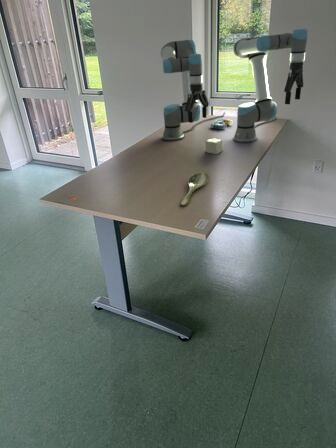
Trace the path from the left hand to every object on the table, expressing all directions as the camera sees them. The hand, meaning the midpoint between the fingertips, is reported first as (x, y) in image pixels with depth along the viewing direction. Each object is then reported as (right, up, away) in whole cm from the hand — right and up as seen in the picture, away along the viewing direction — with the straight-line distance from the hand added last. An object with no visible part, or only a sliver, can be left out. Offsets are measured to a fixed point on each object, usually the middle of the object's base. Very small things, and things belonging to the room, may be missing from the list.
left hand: (197, 120), depth 208 cm
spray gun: (+25, +13, +57) cm, 63 cm away
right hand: (+54, +7, -13) cm, 56 cm away
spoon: (-5, -48, -38) cm, 61 cm away
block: (+11, -18, +9) cm, 23 cm away
